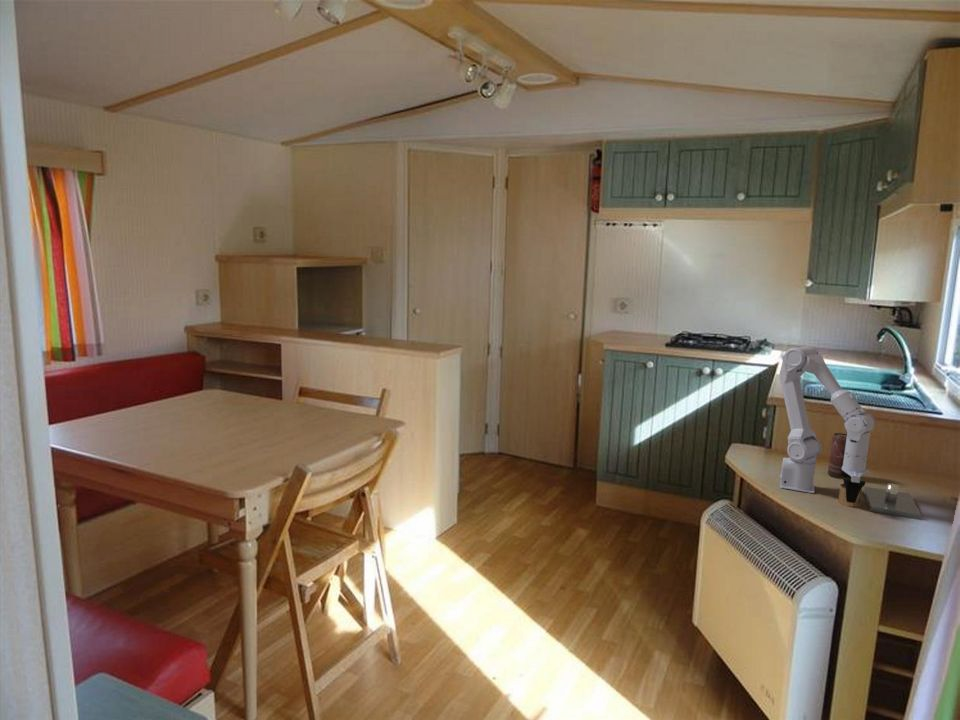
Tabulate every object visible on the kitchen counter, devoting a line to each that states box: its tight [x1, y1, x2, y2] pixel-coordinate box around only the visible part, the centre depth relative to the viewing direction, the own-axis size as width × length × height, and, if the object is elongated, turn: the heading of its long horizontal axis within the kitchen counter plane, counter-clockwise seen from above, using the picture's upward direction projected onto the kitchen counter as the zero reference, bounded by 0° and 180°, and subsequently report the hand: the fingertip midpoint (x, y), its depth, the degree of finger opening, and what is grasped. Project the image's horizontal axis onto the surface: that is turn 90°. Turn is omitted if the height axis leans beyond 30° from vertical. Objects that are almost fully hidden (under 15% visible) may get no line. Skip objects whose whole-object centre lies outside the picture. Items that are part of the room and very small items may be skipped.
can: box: [827, 432, 847, 480], centre depth 213 cm, size 6×6×14 cm
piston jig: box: [862, 482, 922, 521], centre depth 190 cm, size 12×18×6 cm, turn 155°
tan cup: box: [837, 483, 863, 508], centre depth 190 cm, size 6×6×5 cm
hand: (849, 498), depth 190 cm, fingers closed on tan cup, 5 cm apart
